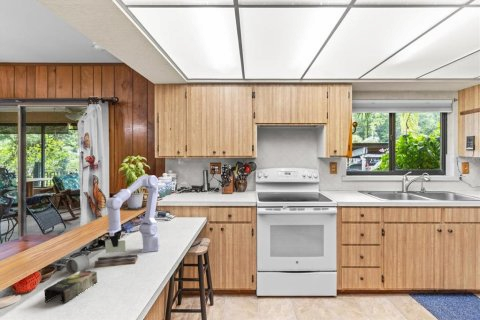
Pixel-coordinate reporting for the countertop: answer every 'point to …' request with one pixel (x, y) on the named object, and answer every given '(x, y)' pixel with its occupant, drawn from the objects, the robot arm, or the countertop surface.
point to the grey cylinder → (77, 264)
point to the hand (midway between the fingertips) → (116, 245)
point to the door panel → (119, 248)
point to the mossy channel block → (71, 286)
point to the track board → (116, 260)
